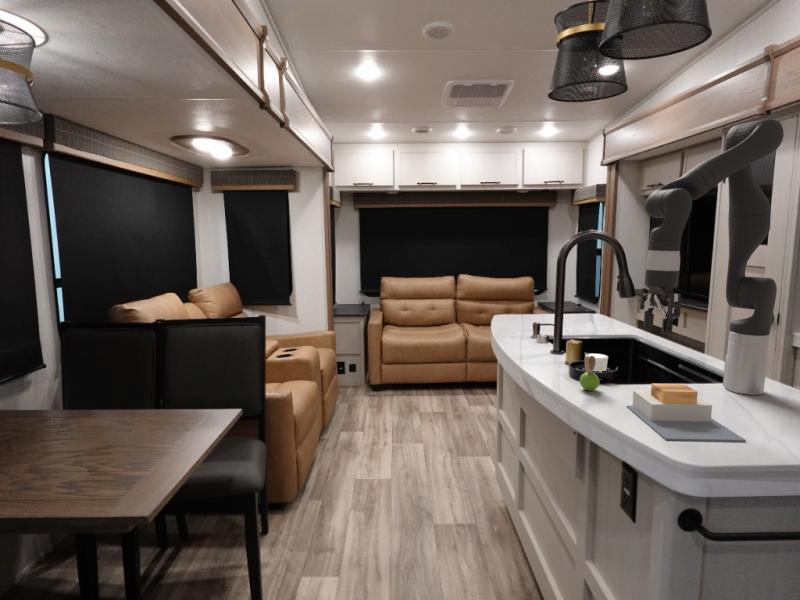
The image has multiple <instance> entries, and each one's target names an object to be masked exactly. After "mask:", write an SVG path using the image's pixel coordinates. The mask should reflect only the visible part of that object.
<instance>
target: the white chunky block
mask: <svg viewBox="0 0 800 600" xmlns="http://www.w3.org/2000/svg"><path fill="white" fill-rule="evenodd" d="M588 353H589V352H588ZM586 356H587V353H586V355H585V354H584V358H585V357H586ZM589 356H594V357H595V361H596V362H595V367H594V370H593V371H599V372H602V371H606V372H607V368H608V367H607V366H608V360H609V356H608V355H606V354H603V353H594V352H592V353H591V352H590V353H589V354H588V357H589Z"/></svg>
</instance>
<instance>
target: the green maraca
mask: <svg viewBox="0 0 800 600" xmlns="http://www.w3.org/2000/svg"><path fill="white" fill-rule="evenodd" d="M586 354H587V356H586V357H585V355H586ZM588 354H589V352H584V370H585V372H584V373H582V374H581V375H580V377H579V384H580V387H582V389H583V390H585V391H590V392H591V391H594V390H596V389H598V388H599V385H600V382H601V381H600V379H599V378H598V376H597V375H596V374H595V373H592V372H593V370H594V367H595V362H596V361H595V357H594V356H589V357H588Z"/></svg>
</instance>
